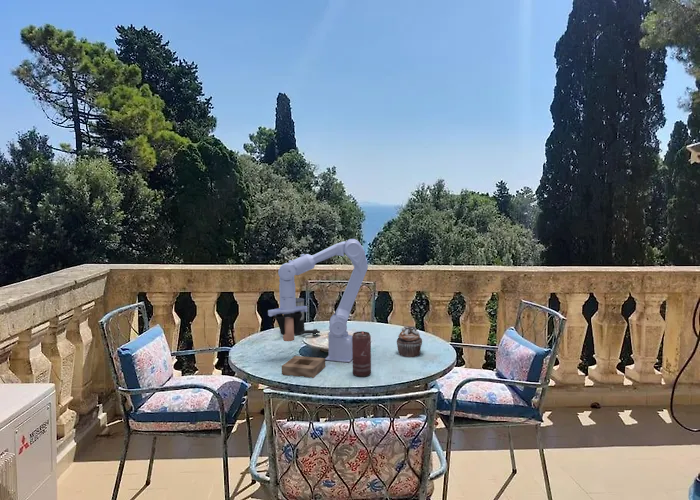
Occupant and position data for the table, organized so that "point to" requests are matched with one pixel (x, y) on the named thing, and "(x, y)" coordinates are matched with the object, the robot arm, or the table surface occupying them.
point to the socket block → (303, 366)
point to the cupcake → (409, 342)
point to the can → (361, 354)
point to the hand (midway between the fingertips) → (288, 333)
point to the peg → (289, 329)
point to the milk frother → (301, 320)
